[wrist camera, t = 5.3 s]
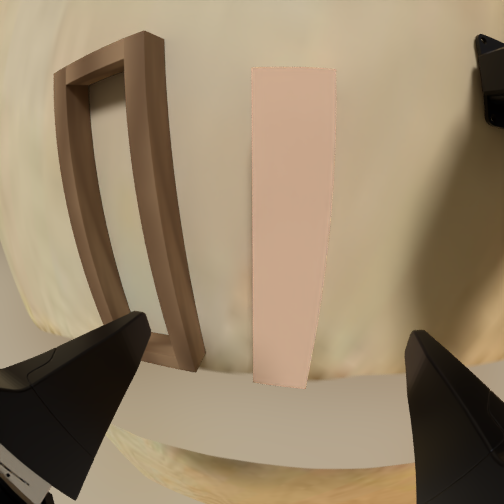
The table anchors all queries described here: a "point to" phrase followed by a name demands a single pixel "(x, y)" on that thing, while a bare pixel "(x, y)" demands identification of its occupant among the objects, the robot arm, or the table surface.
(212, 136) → the table surface
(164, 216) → the frame
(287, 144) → the clay strip
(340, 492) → the table surface
